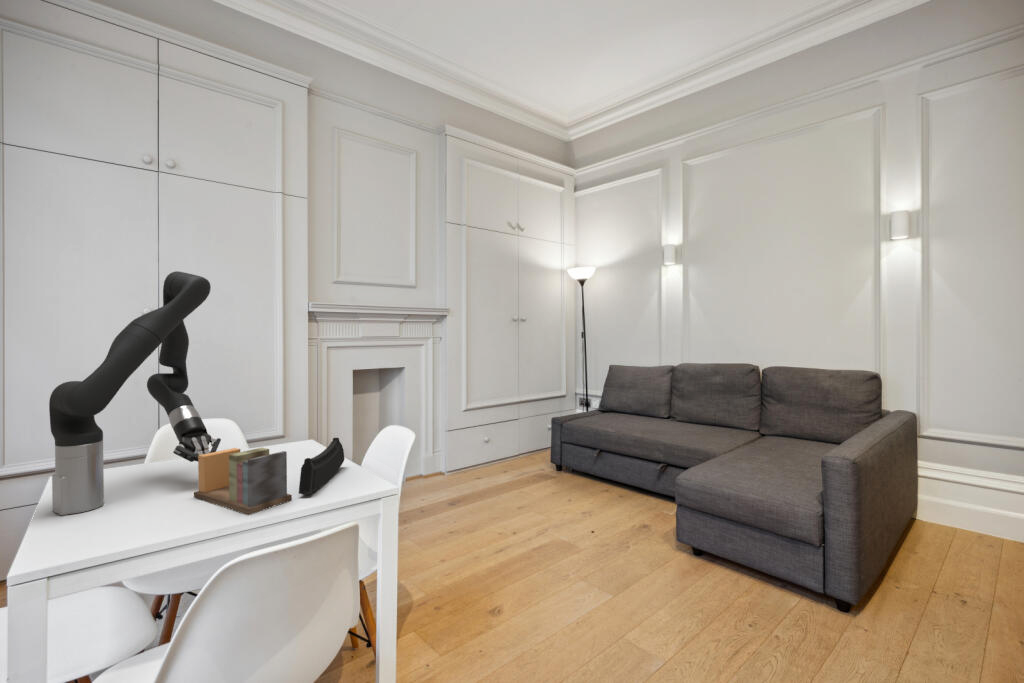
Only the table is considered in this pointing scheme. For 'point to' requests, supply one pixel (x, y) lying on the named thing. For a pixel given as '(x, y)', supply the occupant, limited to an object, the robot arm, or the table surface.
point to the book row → (252, 482)
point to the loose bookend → (214, 470)
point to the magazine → (321, 467)
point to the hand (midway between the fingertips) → (209, 469)
